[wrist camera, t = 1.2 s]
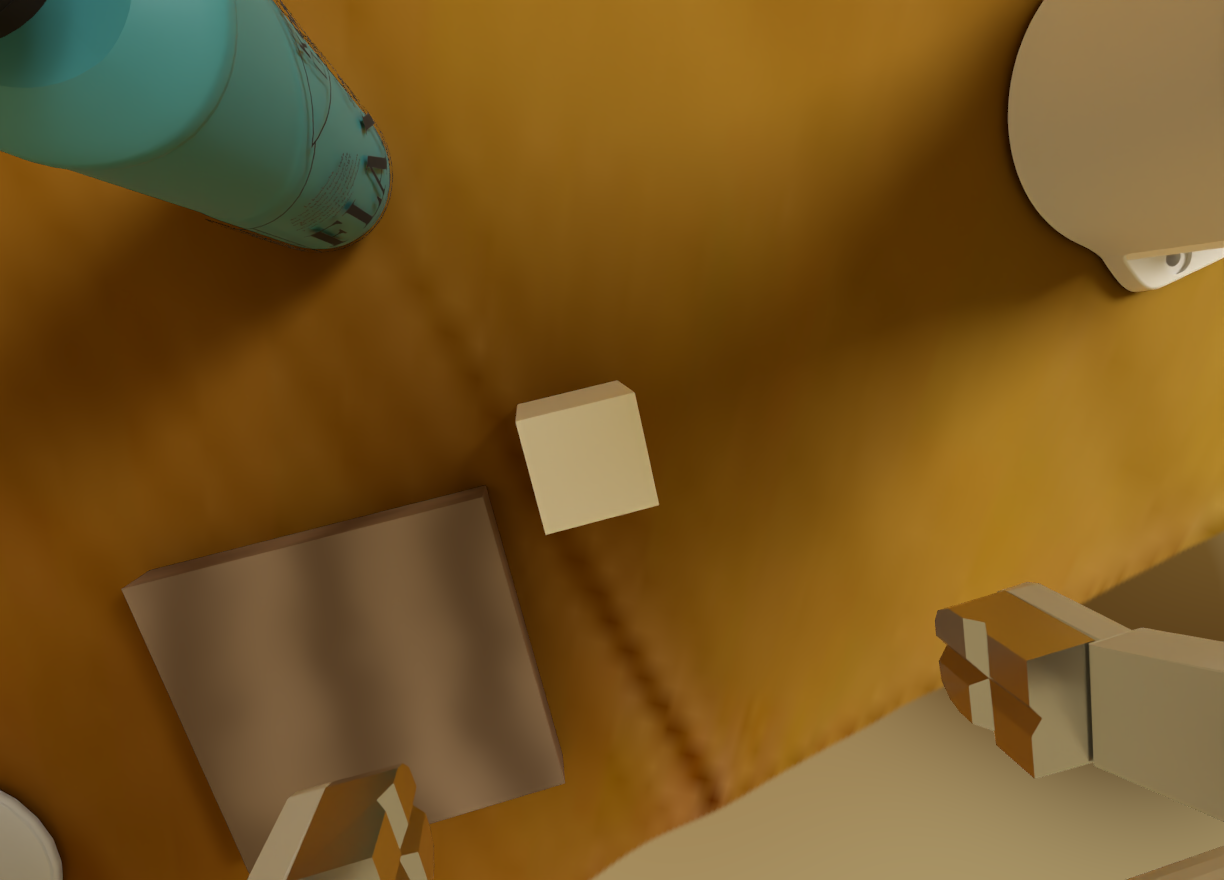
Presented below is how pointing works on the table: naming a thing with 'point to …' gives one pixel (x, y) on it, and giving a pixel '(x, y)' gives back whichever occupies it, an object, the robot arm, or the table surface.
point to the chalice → (25, 844)
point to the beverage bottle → (193, 112)
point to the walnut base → (354, 663)
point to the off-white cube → (586, 455)
